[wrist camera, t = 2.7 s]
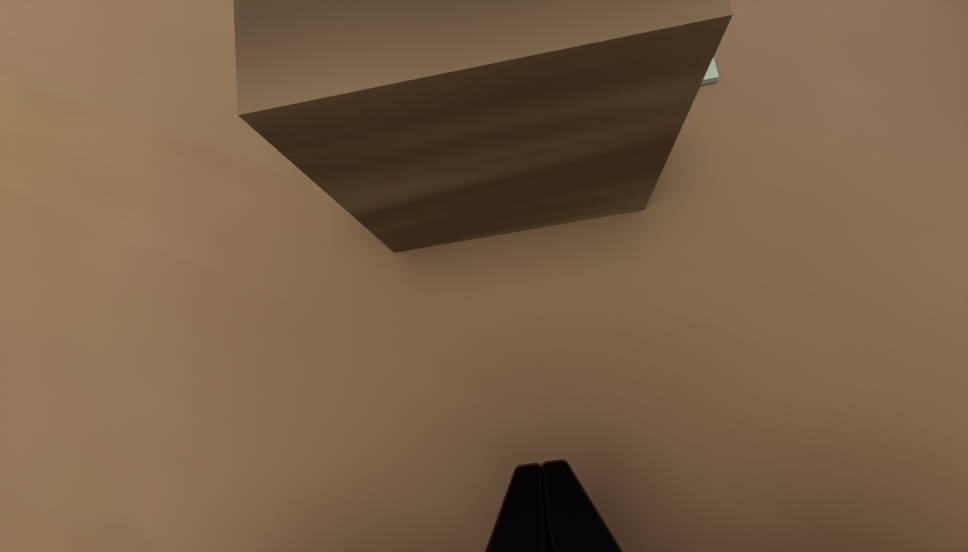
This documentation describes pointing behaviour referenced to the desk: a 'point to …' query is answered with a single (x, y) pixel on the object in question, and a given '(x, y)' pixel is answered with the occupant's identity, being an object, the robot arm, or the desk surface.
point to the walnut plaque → (474, 105)
